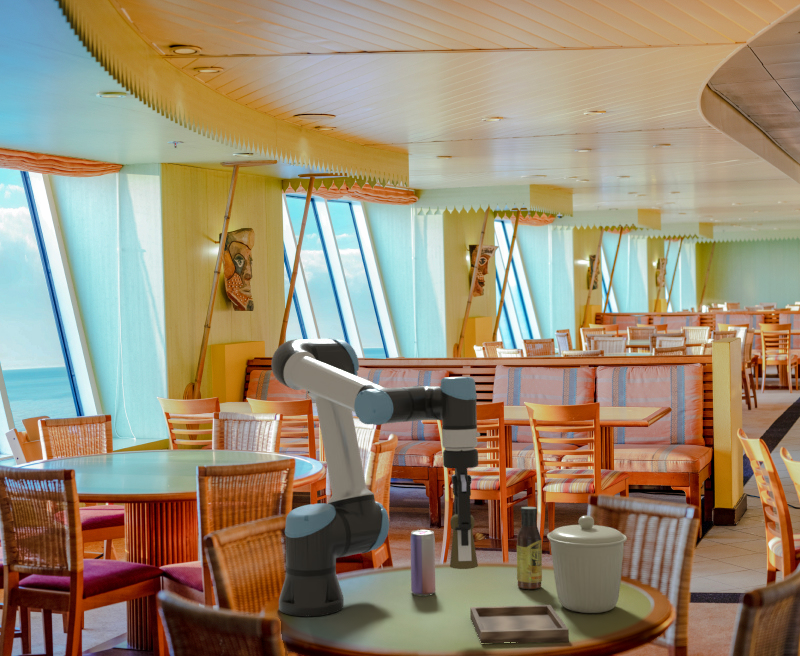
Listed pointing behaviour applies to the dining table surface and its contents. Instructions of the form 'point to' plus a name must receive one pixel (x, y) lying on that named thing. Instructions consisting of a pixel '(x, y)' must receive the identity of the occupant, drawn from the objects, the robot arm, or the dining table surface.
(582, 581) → the canister
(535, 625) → the tray
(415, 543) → the beverage can
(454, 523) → the brown tapered upright piece
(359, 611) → the dining table surface
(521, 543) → the sauce bottle
